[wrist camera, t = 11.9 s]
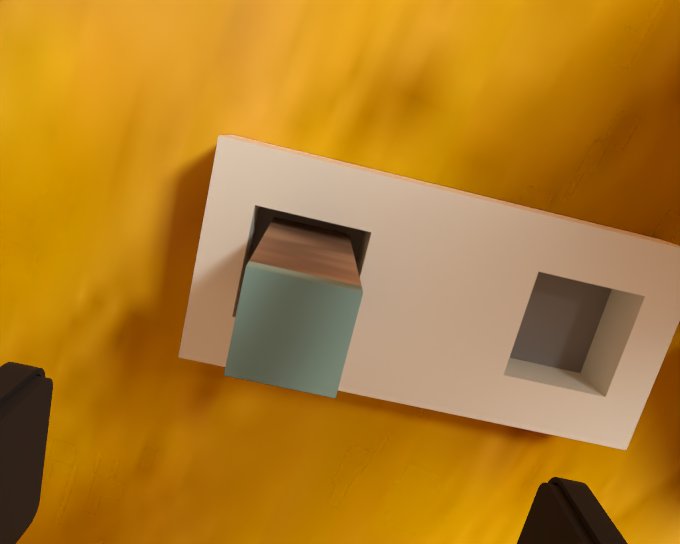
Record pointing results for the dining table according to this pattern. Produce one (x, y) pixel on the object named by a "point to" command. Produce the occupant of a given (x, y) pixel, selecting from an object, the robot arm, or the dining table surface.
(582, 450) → the dining table surface
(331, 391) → the plug peg
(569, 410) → the socket panel
